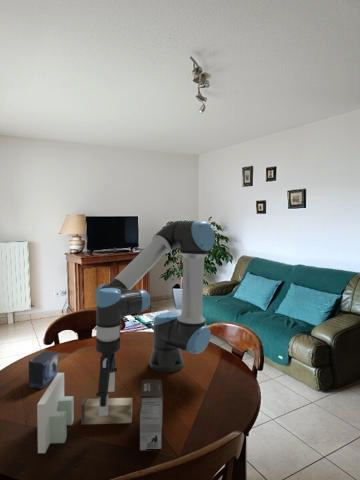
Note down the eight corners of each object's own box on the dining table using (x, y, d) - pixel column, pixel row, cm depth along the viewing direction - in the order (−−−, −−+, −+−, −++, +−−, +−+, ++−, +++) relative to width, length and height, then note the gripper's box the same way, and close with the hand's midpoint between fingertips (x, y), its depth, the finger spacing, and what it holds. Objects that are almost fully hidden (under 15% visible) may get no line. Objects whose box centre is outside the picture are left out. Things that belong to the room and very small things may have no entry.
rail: (132, 415, 105) (132, 396, 104) (131, 423, 101) (131, 403, 100) (84, 416, 104) (84, 397, 103) (81, 424, 100) (81, 405, 99)
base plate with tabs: (76, 412, 105) (76, 372, 104) (60, 452, 87) (59, 403, 87) (58, 413, 105) (57, 372, 104) (37, 453, 87) (37, 404, 86)
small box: (42, 390, 119) (42, 363, 118) (27, 388, 120) (27, 361, 120) (59, 376, 130) (58, 351, 129) (44, 375, 131) (44, 350, 130)
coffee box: (140, 429, 97) (140, 379, 96) (161, 428, 98) (161, 378, 97) (139, 451, 88) (139, 395, 87) (162, 450, 89) (162, 394, 88)
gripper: (102, 324, 113) (101, 382, 114) (87, 353, 88) (86, 427, 89) (124, 325, 113) (123, 382, 114) (114, 353, 88) (113, 426, 89)
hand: (107, 402), depth 101 cm, fingers open, 13 cm apart
